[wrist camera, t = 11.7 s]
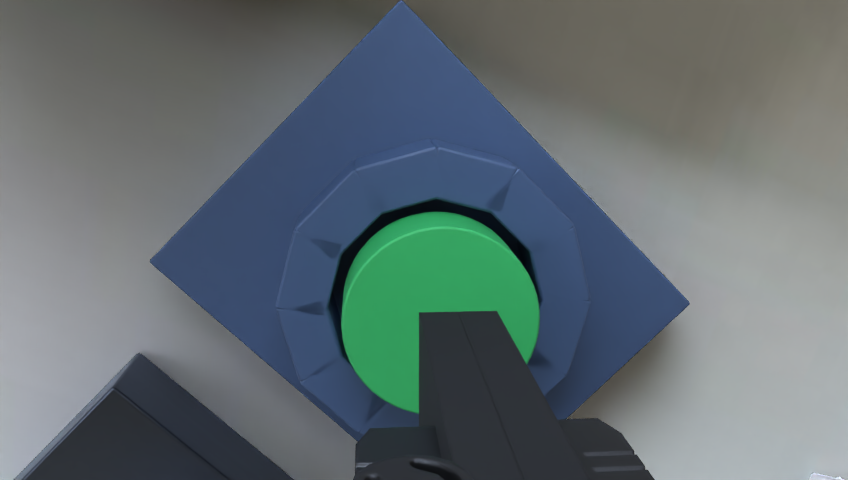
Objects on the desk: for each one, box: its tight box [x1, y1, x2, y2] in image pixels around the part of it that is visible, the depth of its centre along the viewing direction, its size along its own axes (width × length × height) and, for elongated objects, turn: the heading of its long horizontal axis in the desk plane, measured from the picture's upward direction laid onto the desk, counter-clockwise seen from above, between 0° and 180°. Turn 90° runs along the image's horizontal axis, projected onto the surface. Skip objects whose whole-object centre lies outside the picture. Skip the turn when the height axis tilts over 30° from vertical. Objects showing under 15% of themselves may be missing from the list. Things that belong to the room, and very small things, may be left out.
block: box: [150, 0, 689, 442], centre depth 20 cm, size 11×9×4 cm
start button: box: [341, 212, 540, 414], centre depth 18 cm, size 4×4×2 cm
